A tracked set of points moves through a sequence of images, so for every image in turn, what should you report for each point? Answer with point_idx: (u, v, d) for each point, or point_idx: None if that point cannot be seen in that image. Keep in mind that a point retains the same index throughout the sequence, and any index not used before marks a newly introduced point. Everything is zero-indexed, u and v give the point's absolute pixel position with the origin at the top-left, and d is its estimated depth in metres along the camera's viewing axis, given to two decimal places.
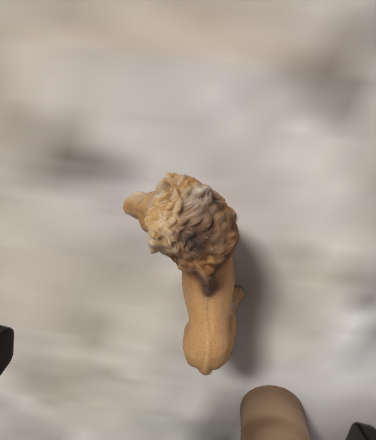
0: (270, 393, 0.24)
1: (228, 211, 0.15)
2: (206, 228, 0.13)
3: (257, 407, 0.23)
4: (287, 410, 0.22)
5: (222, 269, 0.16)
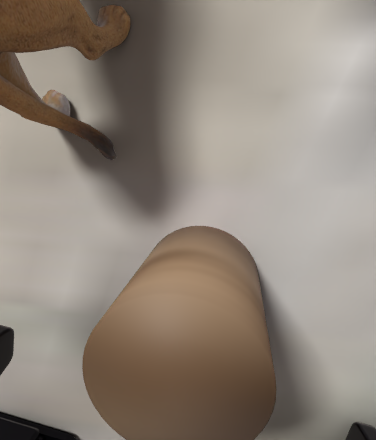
0: (191, 232, 0.12)
1: None
2: None
3: (159, 248, 0.11)
4: (215, 246, 0.11)
5: None
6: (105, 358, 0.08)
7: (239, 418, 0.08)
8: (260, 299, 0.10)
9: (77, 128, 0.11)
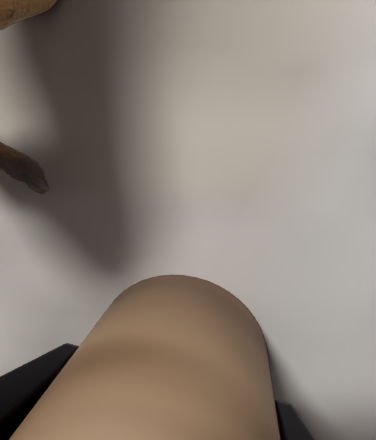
0: (162, 289, 0.08)
1: None
2: None
3: (106, 322, 0.07)
4: (196, 325, 0.06)
5: None
6: None
7: None
8: (275, 435, 0.05)
9: None
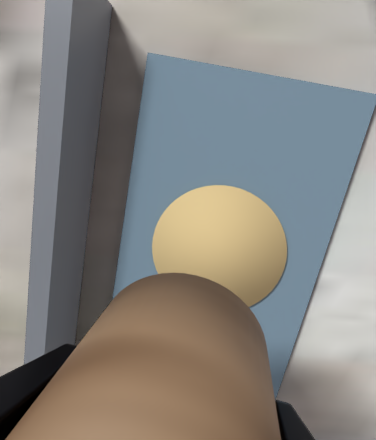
0: (161, 286, 0.08)
1: None
2: None
3: (105, 320, 0.07)
4: (196, 323, 0.06)
5: None
6: None
7: None
8: (276, 433, 0.05)
9: None
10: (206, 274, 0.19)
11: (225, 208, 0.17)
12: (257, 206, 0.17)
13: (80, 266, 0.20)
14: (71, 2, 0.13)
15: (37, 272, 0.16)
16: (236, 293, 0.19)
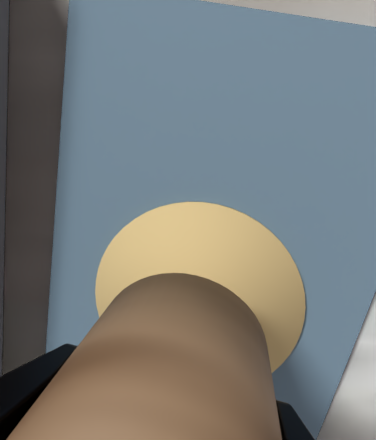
0: (162, 287, 0.08)
1: None
2: None
3: (106, 320, 0.07)
4: (197, 323, 0.06)
5: None
6: None
7: None
8: (277, 434, 0.05)
9: None
10: None
11: (205, 238, 0.11)
12: (257, 236, 0.11)
13: None
14: None
15: None
16: None
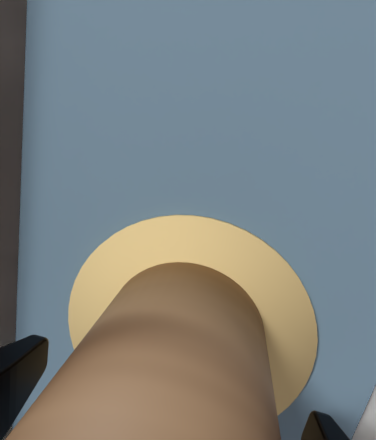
0: (168, 274, 0.08)
1: None
2: None
3: (118, 302, 0.08)
4: (200, 303, 0.07)
5: None
6: None
7: None
8: (271, 398, 0.06)
9: None
10: None
11: (197, 259, 0.09)
12: (260, 257, 0.09)
13: None
14: None
15: None
16: None
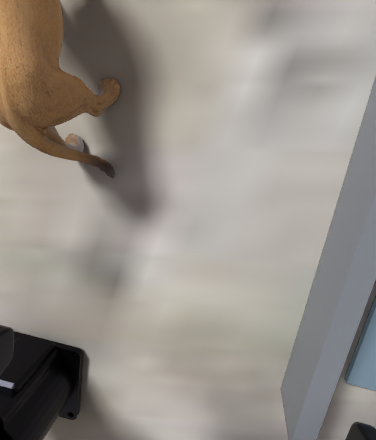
0: None
1: None
2: None
3: None
4: None
5: None
6: None
7: None
8: None
9: (89, 160, 0.17)
10: None
11: None
12: None
13: None
14: None
15: (352, 291, 0.14)
16: None
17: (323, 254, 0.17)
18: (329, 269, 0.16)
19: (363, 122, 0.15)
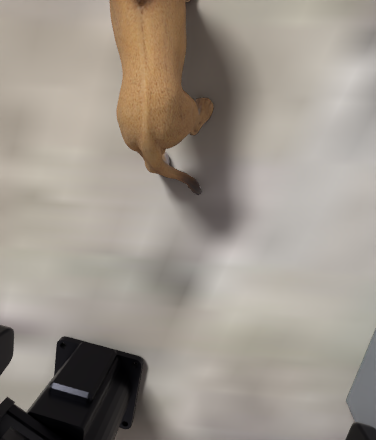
0: None
1: None
2: None
3: None
4: None
5: None
6: None
7: None
8: None
9: (182, 177, 0.17)
10: None
11: None
12: None
13: None
14: None
15: None
16: None
17: None
18: None
19: None
